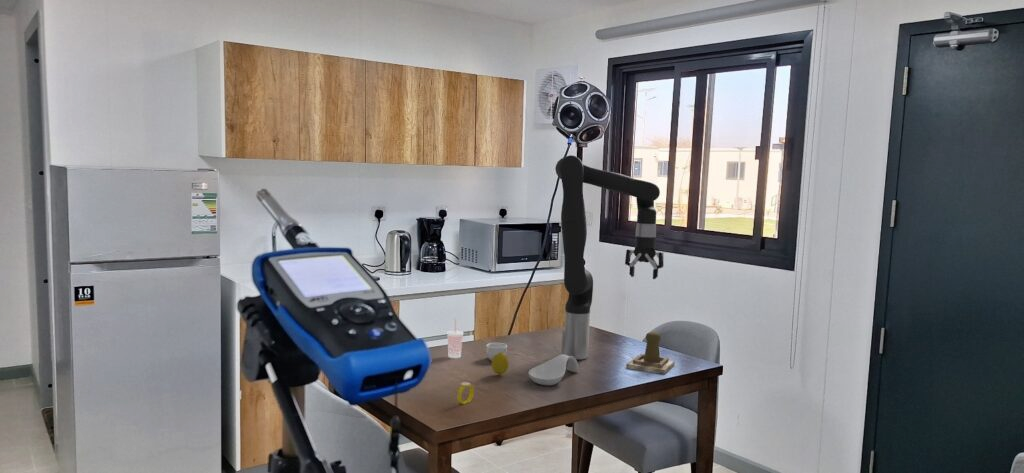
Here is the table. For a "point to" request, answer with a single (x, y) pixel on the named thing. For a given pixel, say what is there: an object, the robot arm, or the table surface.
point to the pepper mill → (652, 348)
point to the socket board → (650, 364)
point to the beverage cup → (454, 343)
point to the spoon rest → (553, 370)
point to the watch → (463, 385)
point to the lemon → (500, 363)
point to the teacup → (495, 349)
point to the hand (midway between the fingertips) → (643, 277)
